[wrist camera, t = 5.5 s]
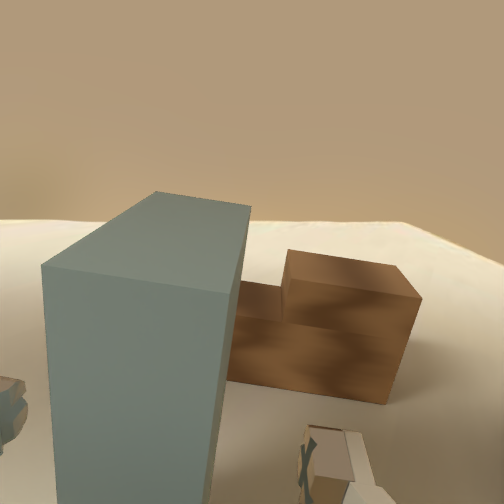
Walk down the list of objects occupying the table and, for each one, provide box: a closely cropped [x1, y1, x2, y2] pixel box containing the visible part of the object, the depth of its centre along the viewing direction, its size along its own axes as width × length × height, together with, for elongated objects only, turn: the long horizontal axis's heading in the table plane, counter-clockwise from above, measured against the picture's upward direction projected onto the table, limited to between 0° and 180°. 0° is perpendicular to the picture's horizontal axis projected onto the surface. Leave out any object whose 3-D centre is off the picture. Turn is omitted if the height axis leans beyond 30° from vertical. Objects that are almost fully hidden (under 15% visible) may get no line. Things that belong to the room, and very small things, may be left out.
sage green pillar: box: [41, 191, 251, 504], centre depth 11 cm, size 3×6×14 cm, turn 176°
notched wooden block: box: [226, 249, 422, 405], centre depth 25 cm, size 20×5×8 cm, turn 86°
